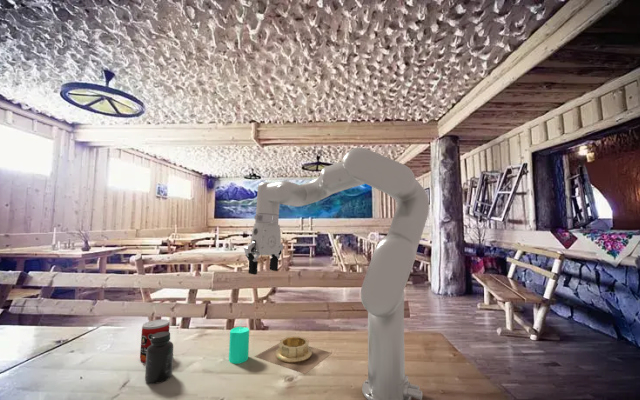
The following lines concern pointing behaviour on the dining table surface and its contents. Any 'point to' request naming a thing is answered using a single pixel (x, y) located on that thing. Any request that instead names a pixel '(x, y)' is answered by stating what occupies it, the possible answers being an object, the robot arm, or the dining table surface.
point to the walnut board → (299, 367)
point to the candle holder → (293, 350)
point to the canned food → (148, 331)
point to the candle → (239, 345)
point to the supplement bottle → (159, 358)
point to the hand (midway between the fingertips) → (263, 272)
